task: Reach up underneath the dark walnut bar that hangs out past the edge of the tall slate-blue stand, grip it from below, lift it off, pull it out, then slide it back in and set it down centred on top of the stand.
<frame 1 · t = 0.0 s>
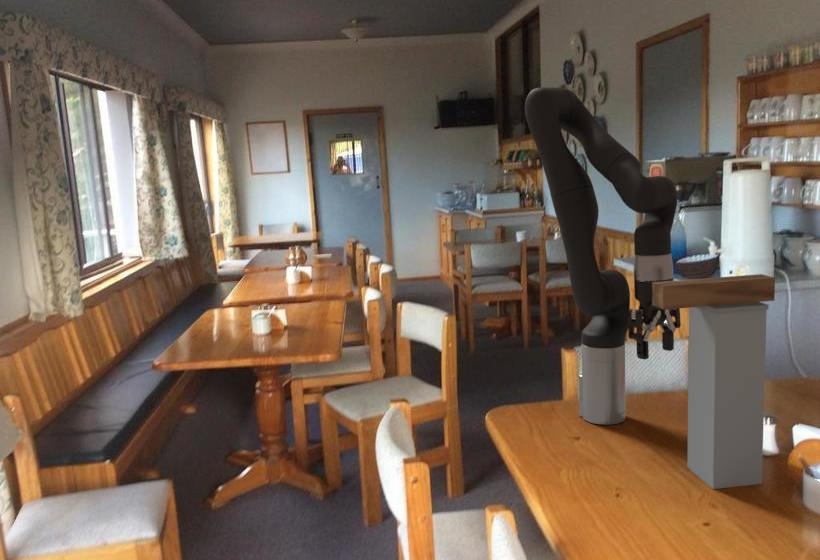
hand: (655, 354, 147), 17 cm above the table, tool pointing down, fingers open, 8 cm apart
stand: (723, 475, 129), on the table
walnut bar: (712, 302, 124), point 32 cm above the table, touching stand
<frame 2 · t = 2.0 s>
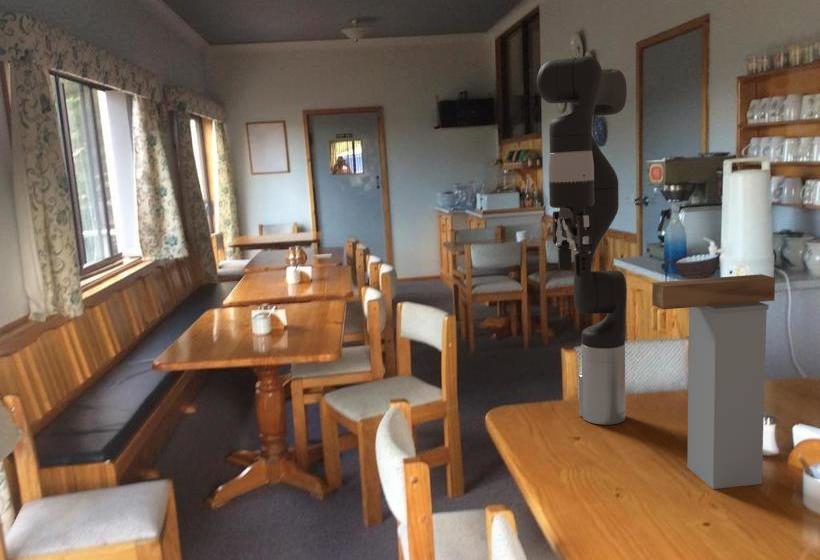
hand: (573, 272, 125), 38 cm above the table, tool pointing down, fingers open, 8 cm apart
nothing on the table moved.
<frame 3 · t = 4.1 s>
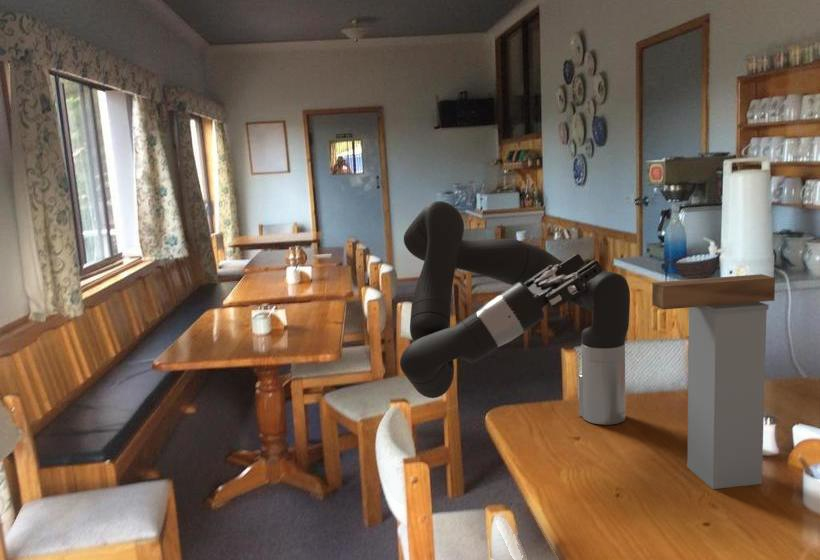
hand: (590, 261, 120), 41 cm above the table, tool pointing upward, fingers open, 8 cm apart
nothing on the table moved.
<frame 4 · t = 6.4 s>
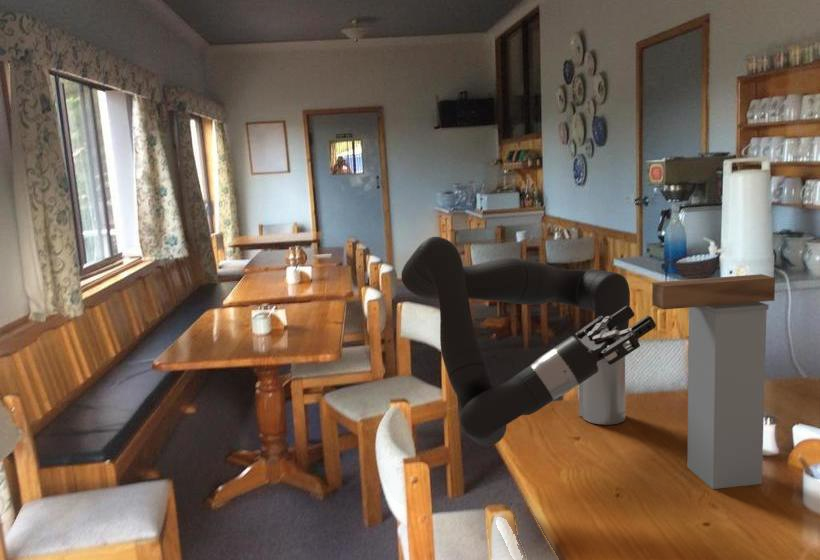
hand: (641, 314, 123), 31 cm above the table, tool pointing upward, fingers open, 8 cm apart
nothing on the table moved.
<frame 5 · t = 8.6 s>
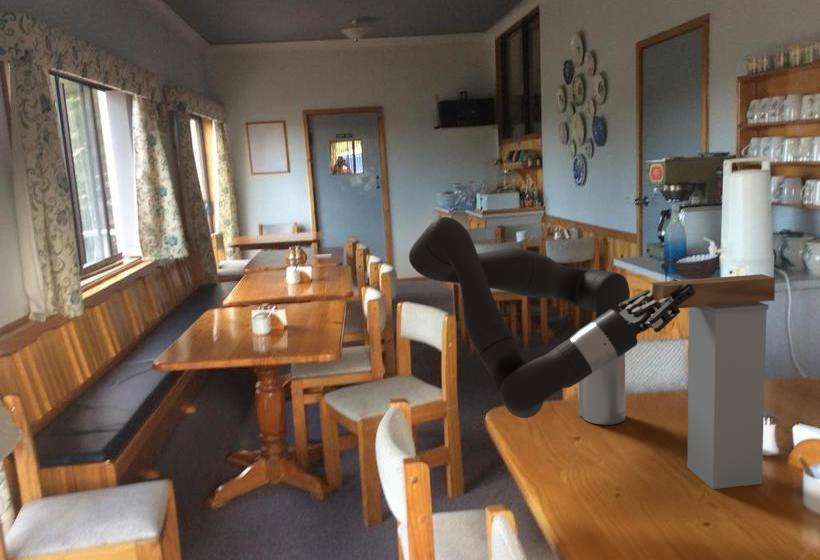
hand: (684, 285, 123), 35 cm above the table, tool pointing upward, fingers closed on walnut bar, 4 cm apart
walnut bar: (712, 302, 124), point 32 cm above the table, touching gripper, stand
everything else where it was.
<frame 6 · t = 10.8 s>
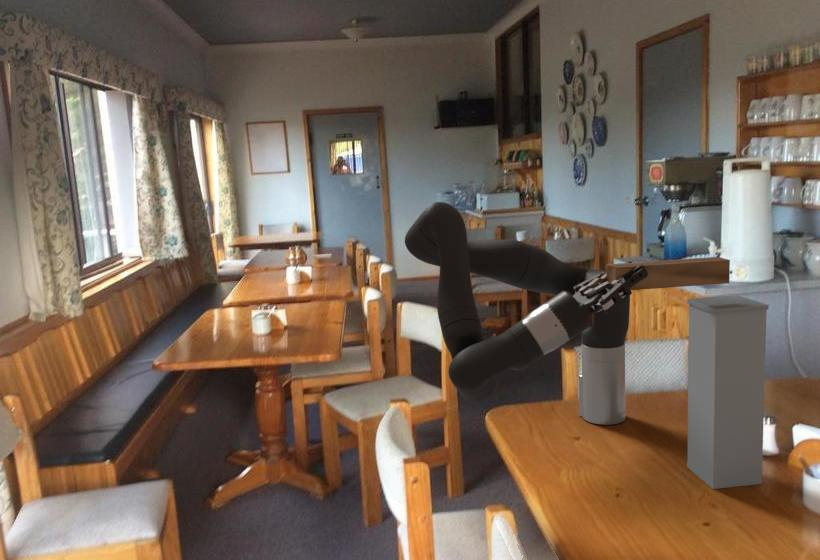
hand: (638, 267, 121), 39 cm above the table, tool pointing upward, fingers closed on walnut bar, 4 cm apart
walnut bar: (667, 285, 122), point 36 cm above the table, touching gripper
everything else where it was.
when the fingers open (37 cm above the table, at t = 12.9 s): walnut bar drops 1 cm, resting on stand.
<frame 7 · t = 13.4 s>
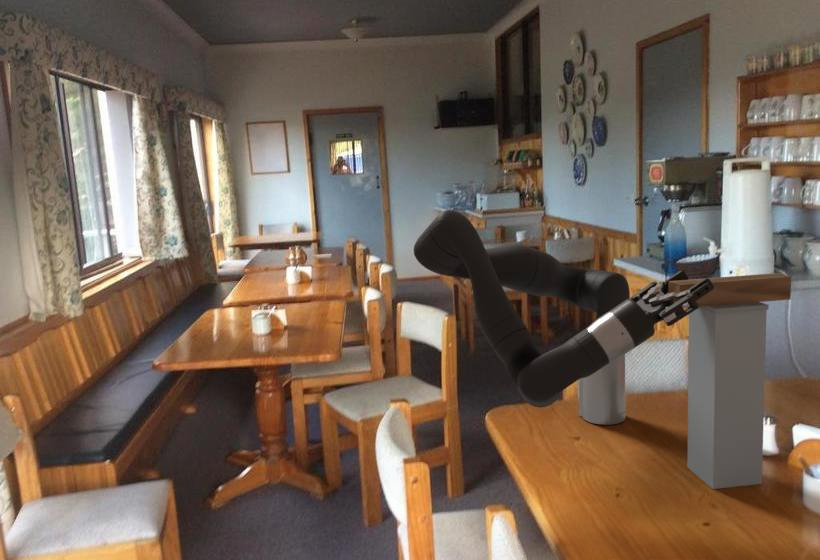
hand: (697, 278, 123), 36 cm above the table, tool pointing upward, fingers open, 8 cm apart
walnut bar: (729, 301, 124), point 32 cm above the table, touching stand
everything else where it was.
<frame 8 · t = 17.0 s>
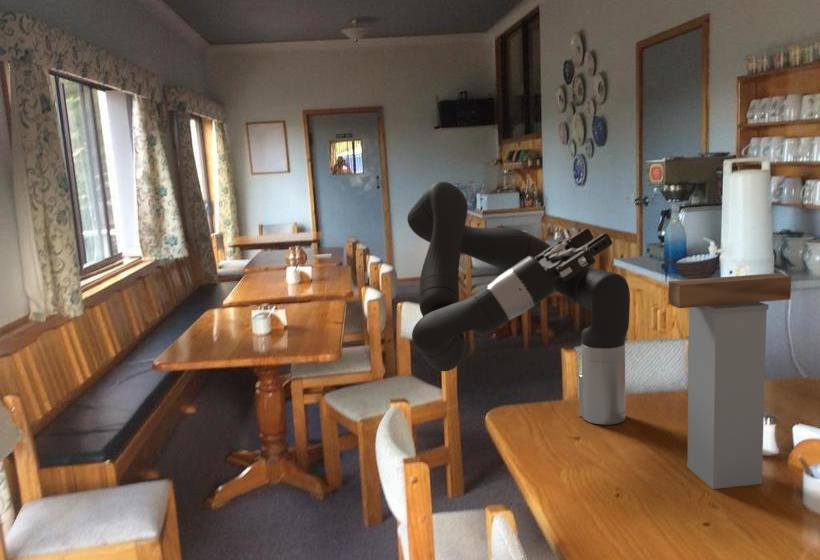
hand: (599, 235, 121), 45 cm above the table, tool pointing upward, fingers open, 8 cm apart
nothing on the table moved.
at the end: walnut bar 1.6 cm from the target spot on the stand, point 32.0 cm above the stand's base; walnut bar moved 2.9 cm from its start; the gripper is holding nothing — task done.
